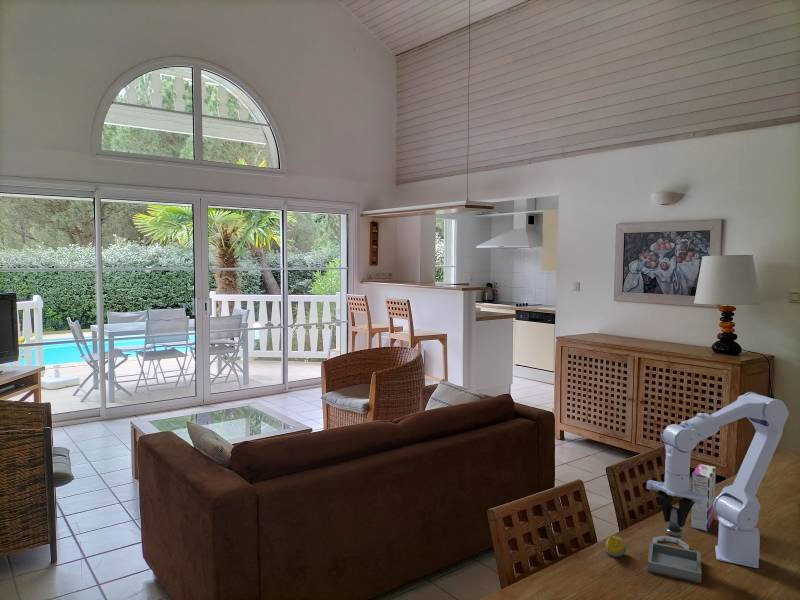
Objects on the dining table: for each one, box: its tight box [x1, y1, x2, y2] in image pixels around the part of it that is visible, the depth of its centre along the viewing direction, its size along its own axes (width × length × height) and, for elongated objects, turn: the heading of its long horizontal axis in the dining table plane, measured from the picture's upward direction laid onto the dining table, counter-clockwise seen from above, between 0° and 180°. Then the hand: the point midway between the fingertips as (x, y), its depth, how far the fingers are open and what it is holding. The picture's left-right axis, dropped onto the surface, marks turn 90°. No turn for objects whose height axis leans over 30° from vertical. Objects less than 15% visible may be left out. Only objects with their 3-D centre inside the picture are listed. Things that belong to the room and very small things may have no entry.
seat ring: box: [652, 535, 690, 550], centre depth 157 cm, size 9×9×1 cm
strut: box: [665, 504, 684, 539], centre depth 149 cm, size 4×4×7 cm
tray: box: [647, 541, 702, 585], centre depth 148 cm, size 12×12×2 cm
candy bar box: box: [690, 463, 717, 532], centre depth 172 cm, size 11×5×16 cm, turn 143°
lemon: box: [604, 534, 627, 558], centre depth 152 cm, size 5×5×10 cm
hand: (674, 523), depth 149 cm, fingers closed on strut, 3 cm apart
